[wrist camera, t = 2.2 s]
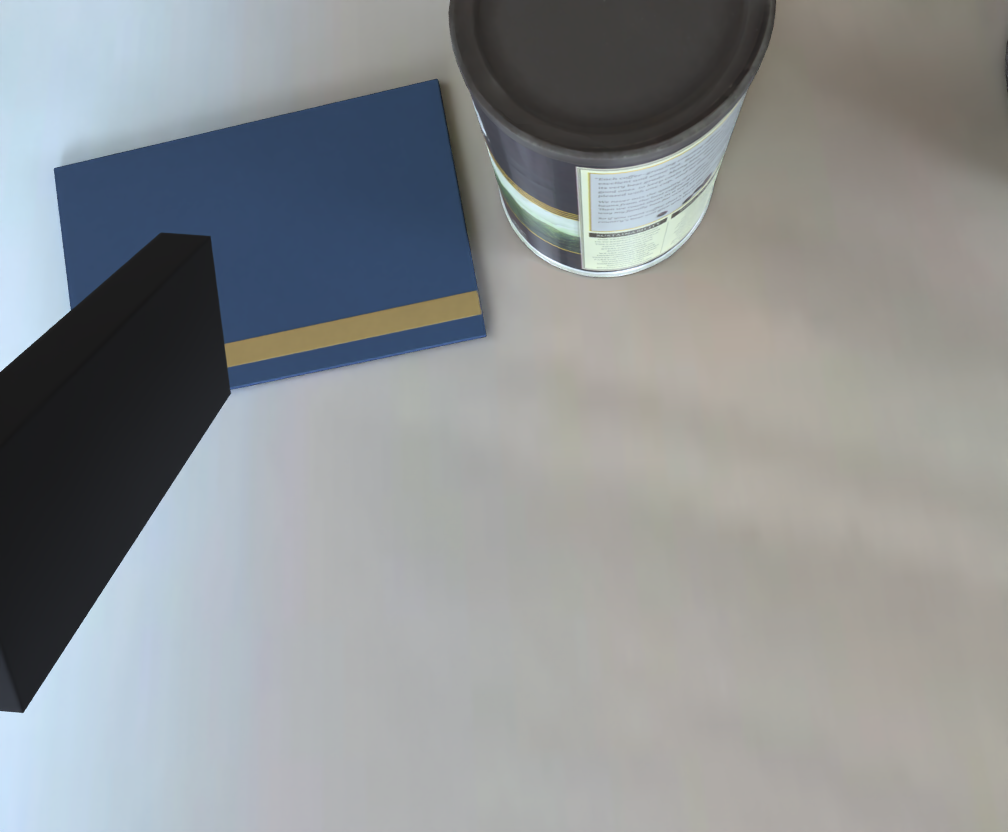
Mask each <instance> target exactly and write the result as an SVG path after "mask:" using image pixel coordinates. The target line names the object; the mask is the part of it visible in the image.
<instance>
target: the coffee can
mask: <svg viewBox="0 0 1008 832" xmlns="http://www.w3.org/2000/svg"><path fill="white" fill-rule="evenodd" d="M775 8H776V0H450V6H449V27H450V35H451V42H452V48H453V51H454V54H455V58H456V61H457V64H458V67H459V69H460V72H461V74H462V76H463V79H464V81H465V84H466V86H467V87H468V89H469V91H470V94H471V97H472V100H473V104H474V108H475V111H476V114H477V118H478V120H479V124H480V126H481V130H482V133H483V136H484V139H485V142H486V146H487V149H488V152H489V155H490V159H491V162H492V165H493V168H494V172H495V176H496V179H497V182H498V185H499V191H500V196H501V202H502V205H503V208H504V211H505V213H506V216H507V218H508V220H509V222H510V224H511V226H512V227H513V229H514V231H515V232H516V234H517V235H518V236H519V238H520V239H521V240H522V241H523V242H524V243H525V244H526V246H527V247H528V248H530V249H531V250H532V251H533V252H534V253H535V254H536V255H538V256H539V257H541V258H542V259H544V260H545V261H547V262H548V263H550V264H552V265H554V266H556V267H558V268H561V269H563V270H566V271H569V272H572V273H575V274H579V275H583V276H590V277H616V276H622V275H627V274H632V273H635V272H638V271H641V270H644V269H647V268H649V267H651V266H653V265H655V264H657V263H659V262H661V261H663V260H664V259H666V258H668V257H669V256H670V255H672V254H673V253H674V252H675V251H676V250H677V249H678V248H680V247H681V246H682V245H683V244H684V243H685V242H686V241H687V240H688V239H689V237H690V236H691V235H692V234H693V232H694V231H695V229H696V228H697V227H698V226H699V224H700V222H701V220H702V218H703V216H704V214H705V212H706V210H707V208H708V205H709V202H710V199H711V195H712V192H713V188H714V182H715V180H716V177H717V174H718V171H719V168H720V165H721V163H722V160H723V157H724V154H725V151H726V149H727V146H728V143H729V140H730V137H731V134H732V131H733V129H734V126H735V123H736V120H737V118H738V115H739V112H740V109H741V106H742V103H743V101H744V98H745V95H746V92H747V89H748V87H749V86H750V84H751V82H752V81H753V79H754V77H755V75H756V73H757V71H758V69H759V67H760V65H761V62H762V60H763V57H764V55H765V52H766V50H767V47H768V44H769V41H770V38H771V34H772V30H773V25H774V18H775Z"/></svg>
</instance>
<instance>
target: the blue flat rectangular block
mask: <svg viewBox="0 0 1008 832" xmlns="http://www.w3.org/2000/svg"><path fill="white" fill-rule="evenodd" d="M54 174H55V183H56V191H57V199H58V207H59V216H60V224H61V232H62V240H63V248H64V257H65V265H66V273H67V281H68V290H69V298H70V306H71V310H72V309H73V308H74V307H76V306H77V305H78V304H79V303H80V302H81V301H82V300H84V299H85V298H86V297H87V296H88V295H89V294H90V293H92V292H93V291H94V290H95V289H96V288H97V287H99V286H100V285H101V284H102V283H103V282H104V281H105V280H107V279H108V278H109V277H110V276H111V275H112V274H113V273H115V272H116V271H117V270H118V269H119V268H120V267H121V266H123V265H124V264H125V263H126V262H127V261H128V260H130V259H131V258H132V257H133V256H134V255H135V254H136V253H138V252H139V251H140V250H141V249H142V248H143V247H144V246H146V245H147V244H148V243H149V242H150V241H151V240H152V239H154V238H155V237H156V236H157V235H158V234H159V233H161V232H163V233H177V234H191V235H205V236H211V243H212V250H213V258H214V266H215V274H216V282H217V289H218V297H219V305H220V313H221V321H222V329H223V336H224V344H225V352H226V360H227V368H228V375H229V383H230V390H231V389H236V388H241V387H246V386H251V385H255V384H260V383H265V382H270V381H275V380H280V379H284V378H289V377H294V376H299V375H304V374H308V373H313V372H318V371H323V370H328V369H332V368H337V367H342V366H347V365H352V364H357V363H361V362H366V361H371V360H376V359H381V358H385V357H390V356H395V355H400V354H405V353H409V352H414V351H419V350H424V349H429V348H434V347H438V346H443V345H448V344H453V343H458V342H462V341H467V340H472V339H477V338H482V337H486V331H485V325H484V320H483V315H482V309H481V304H480V299H479V293H478V288H477V283H476V277H475V272H474V267H473V261H472V256H471V251H470V245H469V240H468V235H467V229H466V224H465V219H464V213H463V208H462V203H461V197H460V192H459V187H458V181H457V176H456V171H455V165H454V160H453V155H452V149H451V144H450V139H449V133H448V128H447V123H446V117H445V112H444V107H443V101H442V96H441V91H440V85H439V81H438V79H434V80H430V81H425V82H421V83H417V84H412V85H408V86H404V87H400V88H395V89H391V90H387V91H382V92H378V93H374V94H370V95H365V96H361V97H357V98H352V99H348V100H344V101H340V102H335V103H331V104H327V105H323V106H318V107H314V108H310V109H305V110H301V111H297V112H293V113H288V114H284V115H280V116H275V117H271V118H267V119H263V120H258V121H254V122H250V123H246V124H241V125H237V126H233V127H228V128H224V129H220V130H216V131H211V132H207V133H203V134H198V135H194V136H190V137H186V138H181V139H177V140H173V141H169V142H164V143H160V144H156V145H151V146H147V147H143V148H139V149H134V150H130V151H126V152H121V153H117V154H113V155H109V156H104V157H100V158H96V159H91V160H87V161H83V162H79V163H74V164H70V165H66V166H62V167H57V168H54Z"/></svg>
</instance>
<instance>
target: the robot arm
mask: <svg viewBox="0 0 1008 832" xmlns="http://www.w3.org/2000/svg"><path fill="white" fill-rule="evenodd" d="M1005 61H1006V83H1007V91H1008V42H1007V49H1006V59H1005ZM230 394H231V391H230V383H229V375H228V368H227V360H226V352H225V344H224V336H223V329H222V321H221V313H220V305H219V297H218V289H217V282H216V274H215V266H214V258H213V250H212V243H211V236H205V235H191V234H177V233H163V232H161V233H159V234H158V235H157V236H156V237H155V238H154V239H152V240H151V241H150V242H149V243H148V244H147V245H146V246H144V247H143V248H142V249H141V250H140V251H139V252H138V253H136V254H135V255H134V256H133V257H132V258H131V259H130V260H128V261H127V262H126V263H125V264H124V265H123V266H121V267H120V268H119V269H118V270H117V271H116V272H115V273H113V274H112V275H111V276H110V277H109V278H108V279H107V280H105V281H104V282H103V283H102V284H101V285H100V286H99V287H97V288H96V289H95V290H94V291H93V292H92V293H90V294H89V295H88V296H87V297H86V298H85V299H84V300H82V301H81V302H80V303H79V304H78V305H77V306H76V307H74V308H73V309H72V310H71V311H70V312H69V313H68V314H66V315H65V316H64V317H63V318H62V319H61V320H59V321H58V322H57V323H56V324H55V325H54V326H53V327H51V328H50V329H49V330H48V331H47V332H46V333H45V334H43V335H42V336H41V337H40V338H39V339H38V340H37V341H35V342H34V343H33V344H32V345H31V346H30V347H28V348H27V349H26V350H25V351H24V352H23V353H22V354H20V355H19V356H18V357H17V358H16V359H15V360H14V361H12V362H11V363H10V364H9V365H8V366H7V367H6V368H4V369H3V370H2V371H1V372H0V711H7V712H19V713H23V712H24V711H25V709H26V708H27V706H28V705H29V703H30V702H31V700H32V699H33V697H34V695H35V694H36V692H37V691H38V689H39V688H40V686H41V685H42V683H43V682H44V680H45V679H46V677H47V675H48V674H49V672H50V671H51V669H52V668H53V666H54V665H55V663H56V662H57V660H58V659H59V657H60V655H61V654H62V652H63V651H64V649H65V648H66V646H67V645H68V643H69V642H70V640H71V638H72V637H73V635H74V634H75V632H76V631H77V629H78V628H79V626H80V625H81V623H82V622H83V620H84V618H85V617H86V615H87V614H88V612H89V611H90V609H91V608H92V606H93V605H94V603H95V602H96V600H97V598H98V597H99V595H100V594H101V592H102V591H103V589H104V588H105V586H106V585H107V583H108V582H109V580H110V578H111V577H112V575H113V574H114V572H115V571H116V569H117V568H118V566H119V565H120V563H121V562H122V560H123V558H124V557H125V555H126V554H127V552H128V551H129V549H130V548H131V546H132V545H133V543H134V542H135V540H136V538H137V537H138V535H139V534H140V532H141V531H142V529H143V528H144V526H145V525H146V523H147V521H148V520H149V518H150V517H151V515H152V514H153V512H154V511H155V509H156V508H157V506H158V505H159V503H160V501H161V500H162V498H163V497H164V495H165V494H166V492H167V491H168V489H169V488H170V486H171V485H172V483H173V481H174V480H175V478H176V477H177V475H178V474H179V472H180V471H181V469H182V468H183V466H184V465H185V463H186V461H187V460H188V458H189V457H190V455H191V454H192V452H193V451H194V449H195V448H196V446H197V445H198V443H199V441H200V440H201V438H202V437H203V435H204V434H205V432H206V431H207V429H208V428H209V426H210V424H211V423H212V421H213V420H214V418H215V417H216V415H217V414H218V412H219V411H220V409H221V408H222V406H223V404H224V403H225V401H226V400H227V398H228V397H229V395H230Z"/></svg>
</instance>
